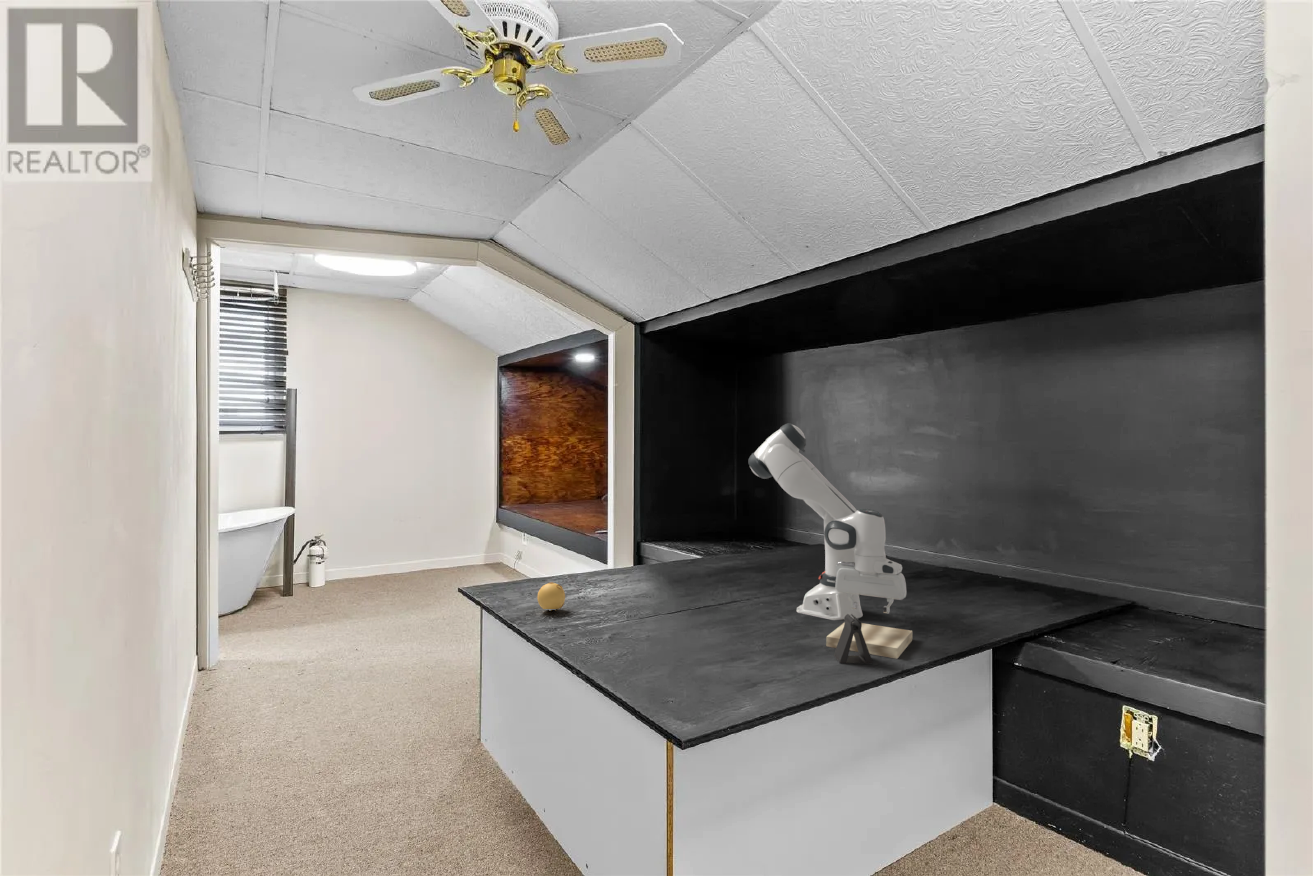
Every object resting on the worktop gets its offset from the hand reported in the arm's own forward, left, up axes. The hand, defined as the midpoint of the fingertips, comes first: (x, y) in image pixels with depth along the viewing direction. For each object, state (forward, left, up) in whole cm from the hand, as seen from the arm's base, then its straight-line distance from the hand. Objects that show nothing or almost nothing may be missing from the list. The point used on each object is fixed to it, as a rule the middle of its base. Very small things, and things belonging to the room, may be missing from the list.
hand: (870, 610), depth 193 cm
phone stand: (0, -18, -10) cm, 20 cm away
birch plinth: (0, 0, -10) cm, 10 cm away
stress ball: (-105, -23, -10) cm, 108 cm away
